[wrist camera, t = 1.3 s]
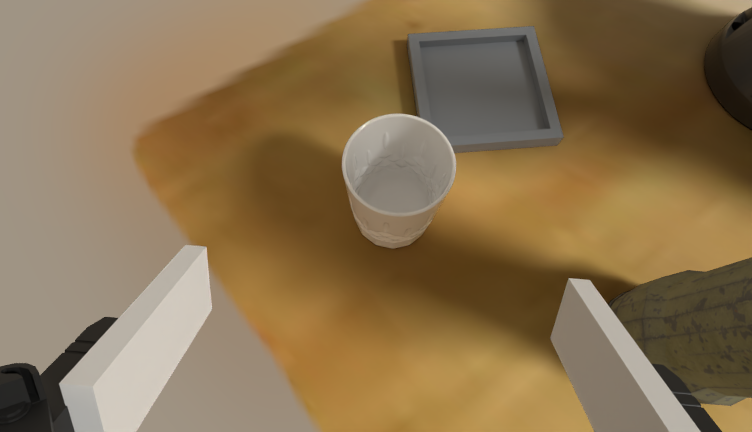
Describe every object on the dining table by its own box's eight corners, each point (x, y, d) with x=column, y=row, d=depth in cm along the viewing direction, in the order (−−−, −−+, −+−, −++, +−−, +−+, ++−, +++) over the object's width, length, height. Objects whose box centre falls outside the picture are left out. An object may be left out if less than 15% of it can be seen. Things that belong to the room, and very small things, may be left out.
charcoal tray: (528, 36, 47) (533, 26, 46) (557, 145, 43) (563, 137, 41) (406, 44, 46) (408, 34, 45) (422, 155, 42) (424, 147, 41)
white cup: (333, 194, 41) (323, 138, 31) (410, 160, 42) (422, 97, 32) (371, 270, 38) (373, 235, 29) (451, 232, 39) (477, 186, 30)
